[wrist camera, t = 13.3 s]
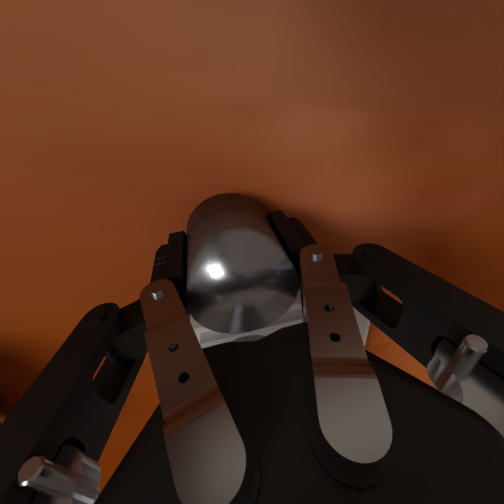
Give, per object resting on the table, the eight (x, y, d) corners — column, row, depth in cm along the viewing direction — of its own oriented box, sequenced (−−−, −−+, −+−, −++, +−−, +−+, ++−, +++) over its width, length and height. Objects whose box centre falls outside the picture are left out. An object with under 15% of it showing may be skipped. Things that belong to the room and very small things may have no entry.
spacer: (175, 203, 12) (169, 266, 8) (263, 185, 13) (298, 237, 9) (198, 271, 15) (202, 344, 11) (270, 254, 15) (300, 318, 11)
